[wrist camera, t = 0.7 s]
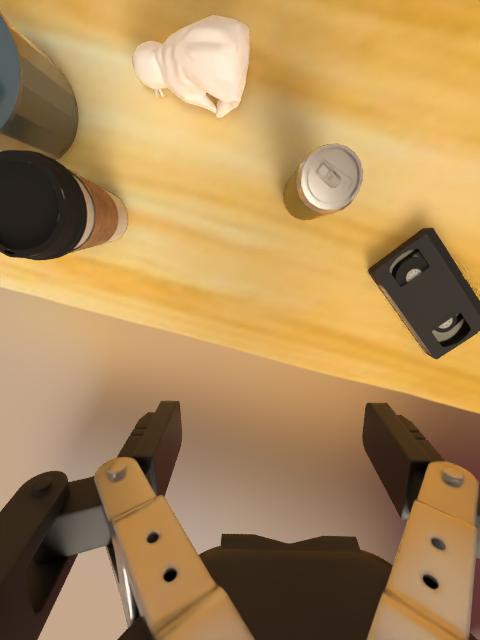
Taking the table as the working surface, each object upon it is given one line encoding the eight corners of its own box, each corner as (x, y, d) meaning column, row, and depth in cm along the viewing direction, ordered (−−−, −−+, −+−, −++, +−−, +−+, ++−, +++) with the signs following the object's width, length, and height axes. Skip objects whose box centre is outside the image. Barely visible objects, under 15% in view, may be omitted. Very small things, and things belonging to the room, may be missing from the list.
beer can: (273, 198, 37) (284, 181, 25) (305, 161, 36) (332, 124, 24) (305, 230, 38) (331, 227, 26) (338, 194, 36) (380, 174, 25)
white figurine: (240, 88, 26) (105, 73, 27) (249, 124, 35) (146, 111, 36) (251, -4, 25) (108, -17, 26) (258, 57, 33) (150, 46, 34)
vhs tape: (366, 270, 39) (373, 272, 37) (423, 228, 37) (432, 228, 35) (426, 354, 41) (435, 360, 39) (481, 318, 40) (493, 322, 38)
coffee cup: (65, 240, 39) (-45, 243, 24) (75, 170, 37) (-39, 126, 22) (130, 261, 39) (61, 275, 25) (145, 192, 37) (78, 163, 22)
